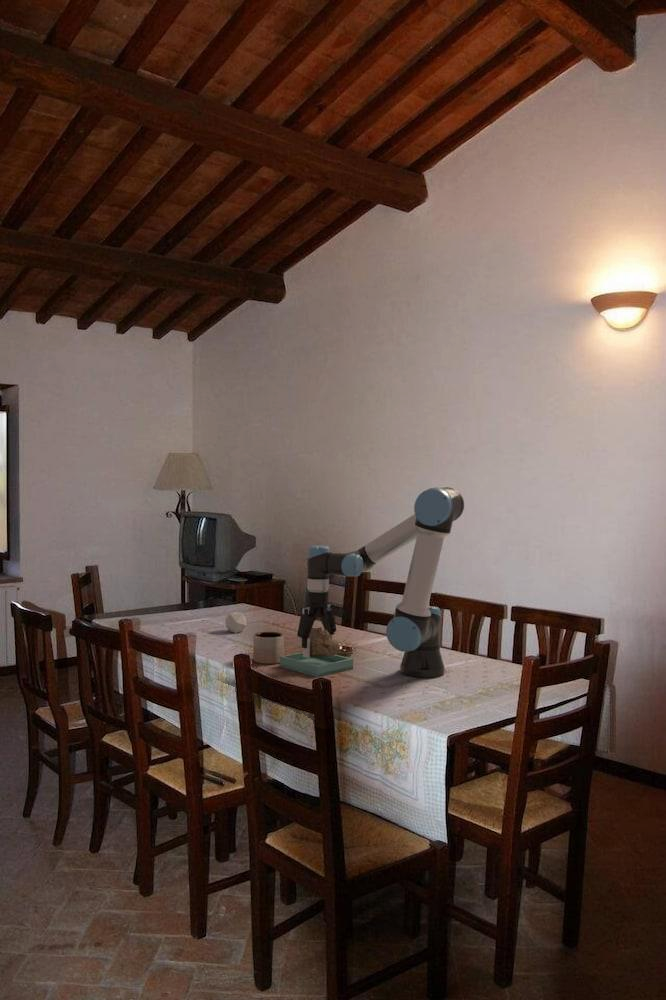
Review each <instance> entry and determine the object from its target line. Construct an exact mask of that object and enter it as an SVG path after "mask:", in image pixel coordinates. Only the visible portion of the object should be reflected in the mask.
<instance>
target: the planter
mask: <svg viewBox="0 0 666 1000" xmlns="http://www.w3.org/2000/svg"><path fill="white" fill-rule="evenodd" d="M284 636H285V635H284V633H281V632H277V631H259V632H255V633H254V634H253V644H252V645H253V646H252V647H253V648H252V649H253V650H252V660H253V662H254V663H257V664H260V665H277V664H280V656H285V653H284V650H285V646H284V644H285V643H284V642H285V641H284V640H285V639H284V638H285V637H284Z"/></svg>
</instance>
